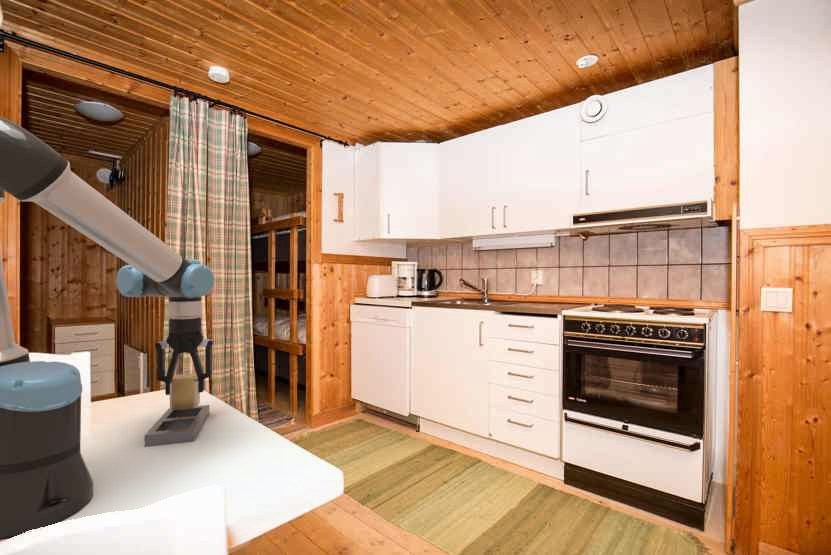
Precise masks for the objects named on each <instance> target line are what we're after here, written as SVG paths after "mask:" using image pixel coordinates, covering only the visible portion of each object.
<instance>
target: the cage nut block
mask: <svg viewBox="0 0 831 555" xmlns="http://www.w3.org/2000/svg"><path fill="white" fill-rule="evenodd" d="M197 379H198V378H197V374H196V373H187V374H186V373H185V374H176V375H174V376H173V379H172V411H174V410H186V409H194V408H195V381H196V380H197Z"/></svg>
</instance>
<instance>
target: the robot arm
mask: <svg viewBox="0 0 831 555" xmlns="http://www.w3.org/2000/svg"><path fill="white" fill-rule="evenodd" d="M5 192H6V193H7V194H9V195H10V196H12V197H14V198H15V199H17V200H18V201H20V202H33V203H34V204H36V205H38V206H39V207H41V208H43V209H45V210H46V211H47V212H49V213H50V214H51V215H53V216H55V217H56V218H58V219H59V220H61V221H62V222H64V223H65V224H67V225H69V226H70V227H72V228H73V229H74V230H76V231H77V232H79V233H80V234H82V235H84V236H85V237H87V238H88V239H90V240H91V241H93V242H94V243H96V244H97V245H100V246H101V247H102V248H103V249H105V250H106V251H108V252H109V253H111V254H113V255H114V256H115V257H118V258H119V259H121V260H122V261H123V262H125V263H126V265H124V266H122V267H121V268H120V269H119V270H118V272H117V274H116V277H115V280H116V288H117V290H118V292H119V293H120V294H121V295H122V296H124V297H127V298H143V297H144V298H145V297H158V298H159V297H161V298H162V297H163V298H165V297H167V298H168V317H169V320H168V335H167V337H166V340H161V341H158V342H156V343H154V347H155V349H156V355H157V356H156V357H157V358H156V381H158V382H164V385H165V387H164V388H165V396H169V408H170V409H171V408H172V379H173V378H174V377H175V371H176V370H177V369H176V367H177V365H178V362H179V358H180V355H181V354H183V353H186V354H189V356H190V358H191V360H192V364H193V367H194V371H195V374H197V378H198V379H197V380H196V381H195V406H200V403H201V393H204V390H205V379H209V378H210V377H211V376H212V374H213V354H212V352H213V350H212V349H213V345H214V343H215V340H214V339H213V338H212V339H208V338H205V337H204V335H203V334H202V318H201V316H202V313H203V312H202V297H204V296H207V295H208V294H209V293H211V291H212V290H213V287H214V285H215V275H214V273H213V271H212V269H211V268H210V267H209V266H207V265H205V264H202V263H201V261H200V260H199V259H196V258H185V257H183V256H182V255H180V254H179V253H178V252H177V251H175V250H174V249H173V248H171V247H170V246H169V245H167V243H165V242H164V241H162V240H161V239H160V238H159V237H158V236H156V235H154V234H153V233H152V232H151V231H149V229H147V228H146V227H144V226H143V225H141V224H140V223H139V222H137V220H135V219H134V218H133V217H131V216H130V215H129V214H128V213H126V212H125V211H123V210H122V209H121V208H120V207H118V206H117V205H116V204H115V203H113V202H112V201H111V200H110V199H108V198H107V197H105V196H104V195H103V194H101V193H100V192H99V191H97V190H96V189H95V188H93V187H92V186H91V185H90V184H89V183H87V182H86V181H84V179H82V178H81V177H79V176H78V175H77V174H75V173H74V172H73V171H72V170H71V164H70V161H69V160H67V158H65V157H63V155H61V154H60V153H59V152H58V151H56V149H53V147H51V146H50V145H48V144H47V143H45V142H44V141H43V140H41V138H38V137H37V136H36V135H34V134H33V133H32V132H30V131H28V130H27V129H26V128H24V127H23V126H21V125H19V124H17V123H16V122H14V121H12V120H10V119H8V118H7V117H4V116H3V115H0V206H1V205H2V204H3V203H4V202H6V196H5ZM1 251H2V250H1V248H0V539H6V538H9V537H10V538H11V537H14V536H19V535H22V534H21V533H23V532H26V531H29V530H32V529H37V528H40V527H43V526H45V527H48V526H50V524H51V525H54V524H55V523H57V522H60V521H62V520H64V519H66V518H68V517H70V516H72V515H73V514H75V513H78V512H79V511H80V510H81V509H83V508H84V507H86V505H88V504H89V503H90V502H91V500H93V496H94V480H93V478H92V476H91V474H90V470H89V469H88V467H87V465H86V462H85V460H84V457H83V456H82V454H81V434H82V432H81V429H82V428H81V426H82V425H81V424H82V419H81V418H82V393H83V383H82V380H81V379H82V378H81V373H80V370H79V369H78V367H76V366H75V365H72V364H70V363H67V362H61V361H44V360H41V361H40V360H37V361H36V360H35V361H34V360H33V361H31V359H30V354H29V350H28V348H26V347H23V346H21V345H19V344H17V343H16V341H15V340H16V338H15V333H14V328H13V320H12V315H11V310H10V309H11V308H10V307H11V306H10V302H9V301H10V300H9V296H8V288H7V282H6V277H5V269H4V264H3V257H2V252H1ZM201 343H203V347H204V348H205V349H204V350H205V351H204V361H205V362H204V365H205V366H204V367H205V368H204V369H203V366H202V362H201V358H200V356H199V351H198V348H199V346H200V345H201ZM167 345H168V346H169V347H170V348H171V349H172V354H171V359H170V363H169V366H168V369H167V372H166V349H167ZM204 370H205V371H204ZM47 525H48V526H47ZM43 528H44V527H43ZM40 529H41V528H40ZM37 530H38V529H37ZM18 534H19V535H18ZM23 534H24V533H23Z"/></svg>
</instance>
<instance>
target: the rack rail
mask: <svg viewBox="0 0 831 555" xmlns="http://www.w3.org/2000/svg"><path fill="white" fill-rule="evenodd" d="M210 410H211V409H210V404H204V405H198V406H195V408H194V409H186V410H174V411H172V408H171V409H170V407H169V408H167V410H166V411H165V412H164V413H163V415H162V416H160V418H159V419H158V420H157V421H156V422H155V424H153V425H152V426H151V428H150V429H149V430H148V431H147V432H146V433H145V435H144V448H145V447H153V446H154V447H155V446H163V445H172V444H179V443H180V444H181V443H189V442H195V441H196V439H197V437H198V436H199V433H200V432H201V430H202V428H203V427H204V425H205V423H206V421H207V419H208V418H209V416H210V413H211V412H210Z"/></svg>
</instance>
